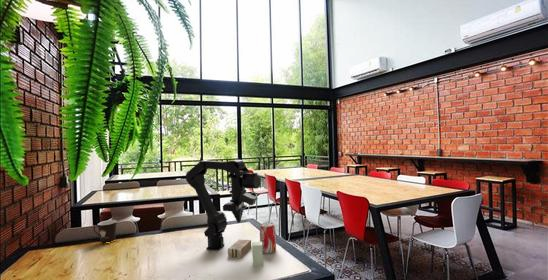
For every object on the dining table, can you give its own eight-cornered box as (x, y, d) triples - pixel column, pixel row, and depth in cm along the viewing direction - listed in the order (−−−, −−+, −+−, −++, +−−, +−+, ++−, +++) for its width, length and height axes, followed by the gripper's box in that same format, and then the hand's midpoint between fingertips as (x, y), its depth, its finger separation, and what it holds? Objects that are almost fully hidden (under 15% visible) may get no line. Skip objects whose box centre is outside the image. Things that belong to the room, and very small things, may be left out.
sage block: (252, 266, 112) (252, 245, 112) (253, 261, 116) (252, 242, 116) (263, 265, 112) (262, 245, 112) (262, 261, 116) (262, 241, 116)
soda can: (274, 254, 122) (273, 226, 122) (258, 254, 124) (257, 226, 124) (277, 248, 129) (276, 222, 129) (262, 248, 131) (261, 221, 131)
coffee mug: (120, 240, 150) (120, 221, 151) (103, 245, 143) (103, 225, 143) (109, 237, 157) (108, 219, 157) (92, 242, 149) (91, 223, 150)
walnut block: (227, 248, 122) (239, 239, 134) (228, 256, 122) (239, 246, 134) (240, 249, 120) (251, 240, 132) (241, 257, 120) (251, 247, 132)
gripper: (245, 191, 117) (247, 229, 117) (261, 184, 134) (263, 217, 134) (221, 191, 120) (222, 228, 120) (240, 184, 138) (241, 216, 138)
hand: (239, 222), depth 128 cm, fingers closed
